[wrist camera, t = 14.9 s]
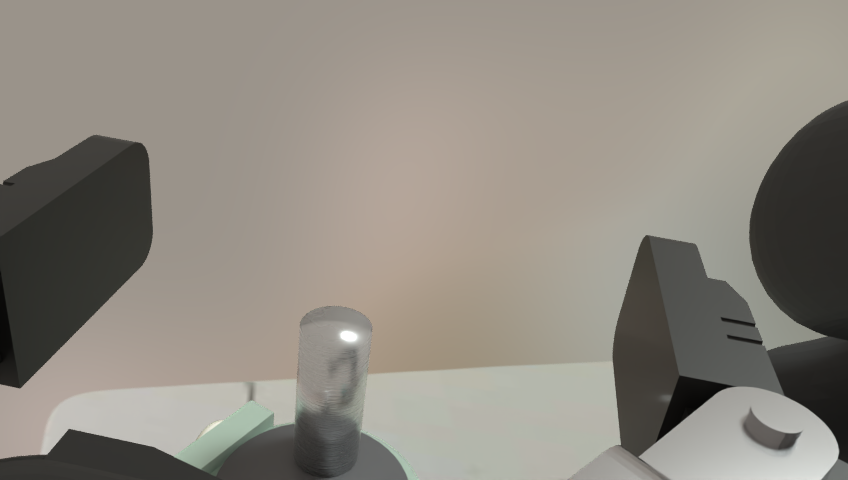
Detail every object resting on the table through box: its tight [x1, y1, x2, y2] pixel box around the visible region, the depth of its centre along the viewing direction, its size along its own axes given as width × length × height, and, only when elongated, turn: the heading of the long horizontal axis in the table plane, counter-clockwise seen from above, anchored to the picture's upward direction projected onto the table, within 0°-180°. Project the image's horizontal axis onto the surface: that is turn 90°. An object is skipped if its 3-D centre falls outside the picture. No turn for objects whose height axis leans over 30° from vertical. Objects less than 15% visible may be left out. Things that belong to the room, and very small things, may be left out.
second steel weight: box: [293, 306, 372, 478], centre depth 47 cm, size 4×4×10 cm
